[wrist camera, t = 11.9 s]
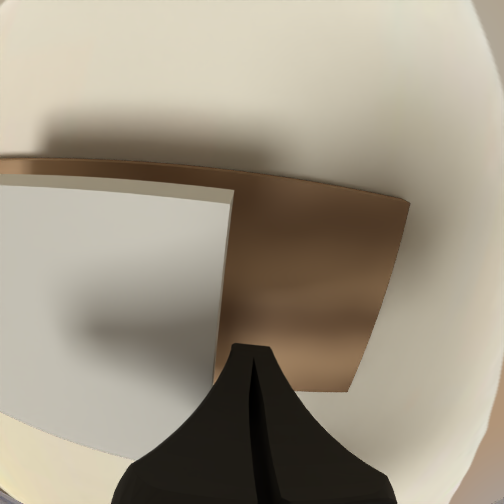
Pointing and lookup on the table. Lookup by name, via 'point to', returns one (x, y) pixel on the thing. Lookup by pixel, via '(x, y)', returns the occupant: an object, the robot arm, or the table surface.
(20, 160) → the roller board
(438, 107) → the table surface
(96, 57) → the table surface
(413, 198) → the table surface
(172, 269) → the slab
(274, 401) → the robot arm
